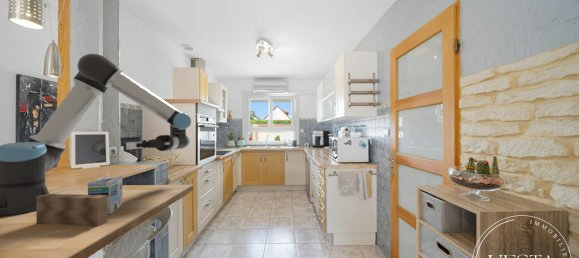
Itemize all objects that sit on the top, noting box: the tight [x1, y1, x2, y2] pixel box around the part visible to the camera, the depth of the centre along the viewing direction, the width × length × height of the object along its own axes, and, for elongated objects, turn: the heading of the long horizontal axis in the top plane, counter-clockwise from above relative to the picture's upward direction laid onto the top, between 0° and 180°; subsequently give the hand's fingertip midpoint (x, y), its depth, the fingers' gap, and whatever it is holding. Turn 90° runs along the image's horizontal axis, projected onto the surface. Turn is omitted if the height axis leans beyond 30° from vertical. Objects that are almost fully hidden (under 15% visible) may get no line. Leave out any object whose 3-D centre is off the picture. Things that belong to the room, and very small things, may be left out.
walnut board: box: [35, 193, 108, 227], centre depth 70 cm, size 20×3×8 cm, turn 84°
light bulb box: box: [87, 176, 123, 215], centre depth 81 cm, size 11×7×11 cm, turn 18°
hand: (128, 145), depth 89 cm, fingers closed
